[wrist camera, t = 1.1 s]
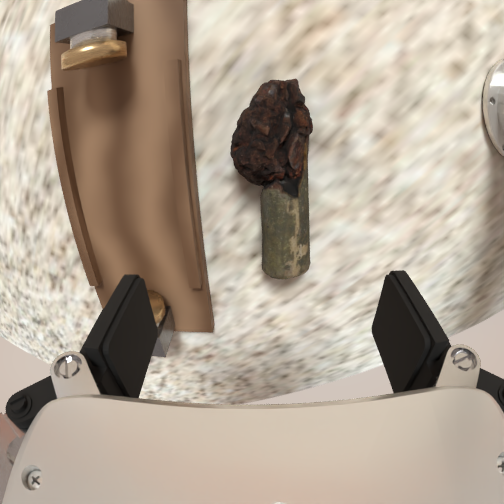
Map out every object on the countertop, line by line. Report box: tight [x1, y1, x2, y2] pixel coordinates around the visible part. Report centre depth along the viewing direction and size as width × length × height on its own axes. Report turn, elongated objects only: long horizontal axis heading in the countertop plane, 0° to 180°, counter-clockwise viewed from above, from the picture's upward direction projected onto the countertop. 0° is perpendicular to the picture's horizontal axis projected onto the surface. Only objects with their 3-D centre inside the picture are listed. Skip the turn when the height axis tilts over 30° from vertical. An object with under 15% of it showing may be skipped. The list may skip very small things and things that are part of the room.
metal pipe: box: [231, 79, 313, 279], centre depth 26 cm, size 18×7×6 cm, turn 4°
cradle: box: [47, 0, 214, 332], centre depth 27 cm, size 14×37×3 cm, turn 2°
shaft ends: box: [55, 0, 175, 357], centre depth 25 cm, size 6×35×6 cm, turn 2°
